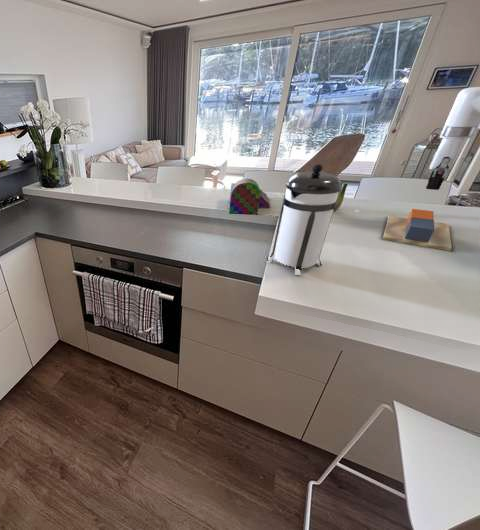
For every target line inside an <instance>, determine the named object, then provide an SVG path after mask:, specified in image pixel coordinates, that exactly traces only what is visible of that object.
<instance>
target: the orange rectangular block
mask: <svg viewBox="0 0 480 530" xmlns="http://www.w3.org/2000/svg"><path fill="white" fill-rule="evenodd" d="M411 217H413V218H421V219H428V220H434V210H427V209H417V208H411V210H410V212H409V215H408V217H407V218H408V219H407V223H406V228H407V226H408V224H409V222H410V219H411ZM434 221H435V220H434Z"/></svg>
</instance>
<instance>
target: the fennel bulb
mask: <svg viewBox="0 0 480 530" xmlns="http://www.w3.org/2000/svg"><path fill="white" fill-rule="evenodd" d="M341 184H342V189H341V191H340V192H339V193H338V196H337V203H336V206H335V208H334V211H337V210H338V209H339V208H340V207H341V206H342V204H343V201H344V198H345V193H346V190H347V187H348V185H349V183H348V182H344V181H341Z"/></svg>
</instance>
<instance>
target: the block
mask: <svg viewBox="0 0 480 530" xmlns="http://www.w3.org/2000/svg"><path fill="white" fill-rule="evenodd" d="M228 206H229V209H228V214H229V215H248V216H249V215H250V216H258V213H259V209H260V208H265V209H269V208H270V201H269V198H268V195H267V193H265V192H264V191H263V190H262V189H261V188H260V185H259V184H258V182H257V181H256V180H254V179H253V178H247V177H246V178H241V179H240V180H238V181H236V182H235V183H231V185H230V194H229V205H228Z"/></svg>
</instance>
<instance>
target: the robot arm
mask: <svg viewBox="0 0 480 530" xmlns="http://www.w3.org/2000/svg"><path fill="white" fill-rule="evenodd" d="M479 126H480V86H473V87H472V86H471V87H466V88H463V89H461V90H460V91H459V92H458V93H457V96H456V98H455V100H454V103H453V105H452V107H451V109H450V111H449V114H448V116H447V118H446V120H445V123H444V125H443V127H442V129H441V131H440V135H439V138H440V139H442V140H441V142H440V144H439V145H438V147H437V150H436V152H435V154H434V157H433V158H432V161H431V163H430V165H429V170H430V171H431V173H430V176H429V178H428V180H427V181H428V182H427V185H426V187H425V189H426V190H433V191H439V190H440V189H441V186H442V184H443V182H444V180H445V176H446V174H447V172H449V171H451V169H452V168H453V165H454V164H455V162H456V160H457V159H458V157H459V155H460V154H461V151H462V150H463V148H464V146H465V144H466V141H467V139H473V138H474V137H475V135H476V134H477V133H476V132H477V130H478V129H479Z"/></svg>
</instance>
